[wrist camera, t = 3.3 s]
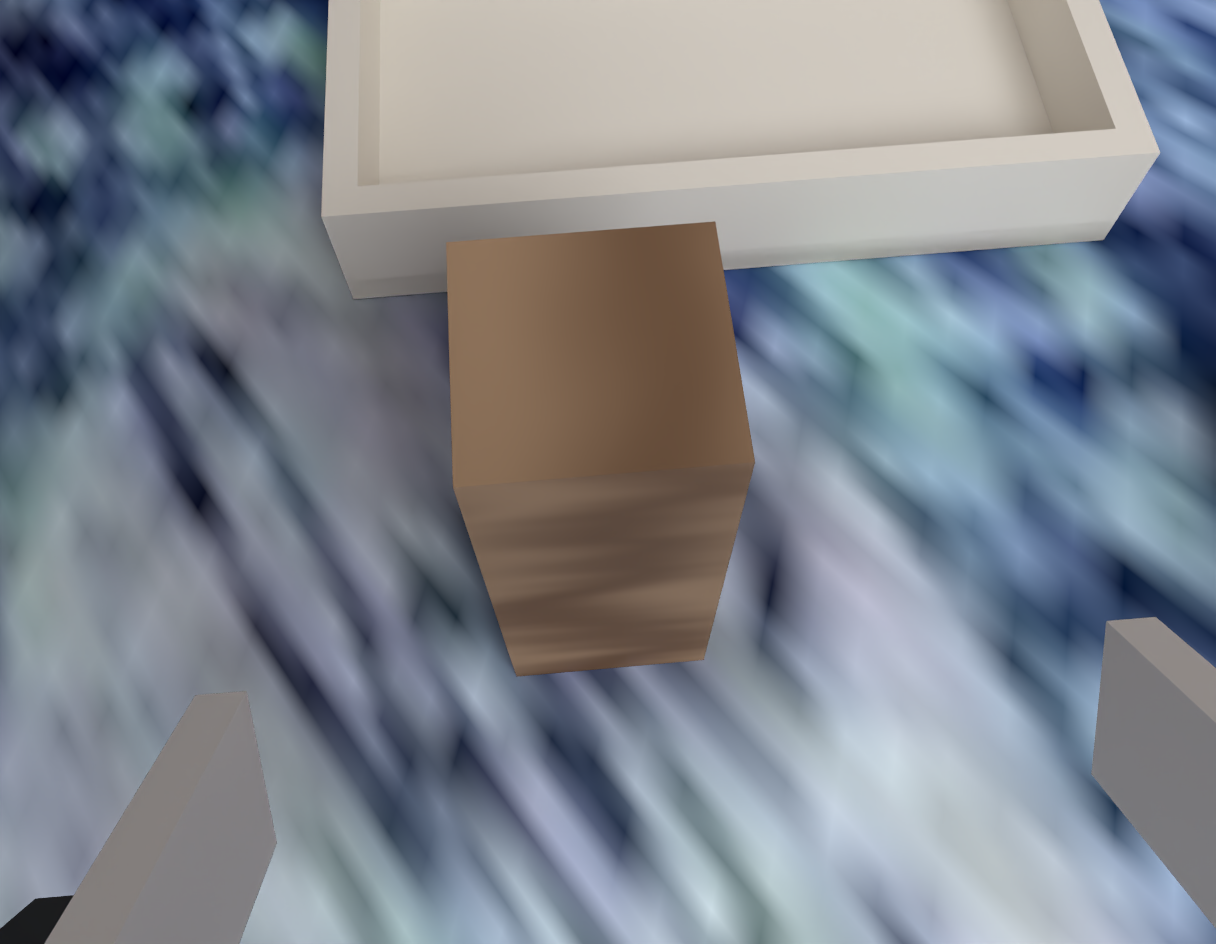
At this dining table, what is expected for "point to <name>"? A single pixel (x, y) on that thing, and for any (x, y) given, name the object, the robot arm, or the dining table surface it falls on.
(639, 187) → the sorting tray
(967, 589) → the dining table surface
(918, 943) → the dining table surface
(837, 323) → the dining table surface
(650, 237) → the walnut block
